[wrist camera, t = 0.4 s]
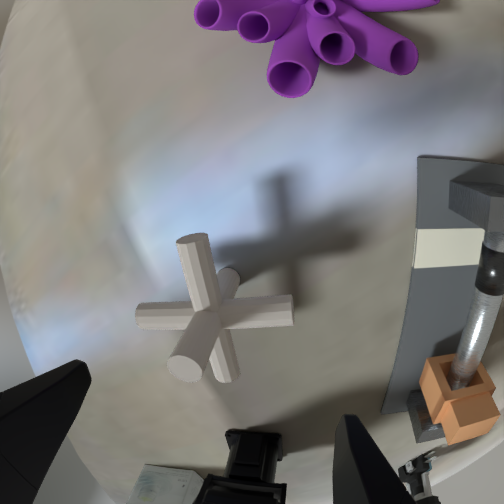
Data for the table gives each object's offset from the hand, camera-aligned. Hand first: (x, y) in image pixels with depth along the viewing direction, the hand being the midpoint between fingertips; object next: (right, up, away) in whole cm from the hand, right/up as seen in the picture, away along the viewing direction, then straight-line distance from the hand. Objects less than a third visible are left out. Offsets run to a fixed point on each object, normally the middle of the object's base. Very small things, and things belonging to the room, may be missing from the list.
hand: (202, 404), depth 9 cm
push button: (+25, -25, +21) cm, 42 cm away
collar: (+19, -5, +12) cm, 23 cm away
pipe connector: (0, +3, +14) cm, 15 cm away
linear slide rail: (+19, 0, +12) cm, 22 cm away
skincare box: (-11, -33, +30) cm, 46 cm away
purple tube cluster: (+6, +21, +6) cm, 23 cm away
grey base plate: (+19, 0, +12) cm, 22 cm away
